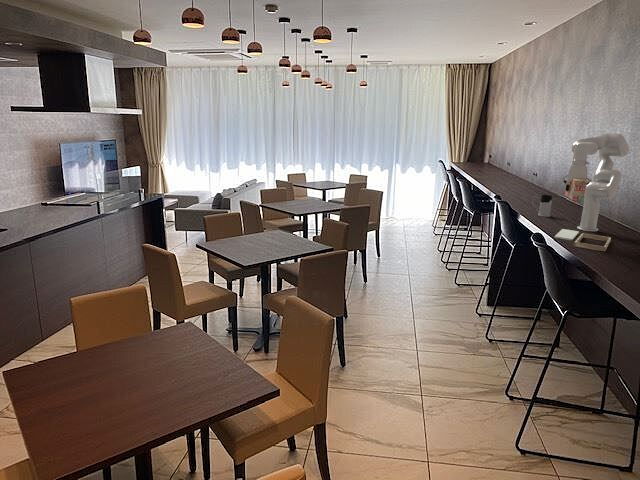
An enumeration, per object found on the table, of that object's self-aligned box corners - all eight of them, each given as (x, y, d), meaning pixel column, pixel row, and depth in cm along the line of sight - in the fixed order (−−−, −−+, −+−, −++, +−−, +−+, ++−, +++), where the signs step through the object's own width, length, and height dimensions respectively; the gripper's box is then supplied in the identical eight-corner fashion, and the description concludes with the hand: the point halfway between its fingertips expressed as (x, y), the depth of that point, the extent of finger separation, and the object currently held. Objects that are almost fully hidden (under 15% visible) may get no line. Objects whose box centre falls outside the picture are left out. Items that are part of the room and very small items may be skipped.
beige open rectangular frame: (581, 237, 312) (582, 233, 311) (610, 241, 303) (611, 237, 302) (573, 246, 289) (574, 242, 288) (604, 251, 280) (605, 247, 279)
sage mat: (562, 230, 328) (562, 228, 328) (578, 232, 323) (579, 231, 322) (554, 237, 307) (554, 236, 307) (572, 240, 302) (572, 239, 302)
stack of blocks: (563, 194, 320) (567, 175, 317) (574, 195, 319) (577, 176, 315) (572, 200, 300) (575, 179, 297) (583, 201, 298) (587, 180, 295)
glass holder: (549, 217, 369) (552, 197, 365) (528, 214, 377) (531, 194, 373) (551, 215, 376) (554, 195, 373) (531, 212, 384) (534, 193, 380)
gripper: (596, 164, 302) (591, 192, 306) (564, 161, 311) (560, 189, 316) (594, 165, 295) (589, 194, 300) (562, 162, 305) (558, 191, 309)
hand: (574, 191), depth 308 cm, fingers closed on stack of blocks, 7 cm apart
